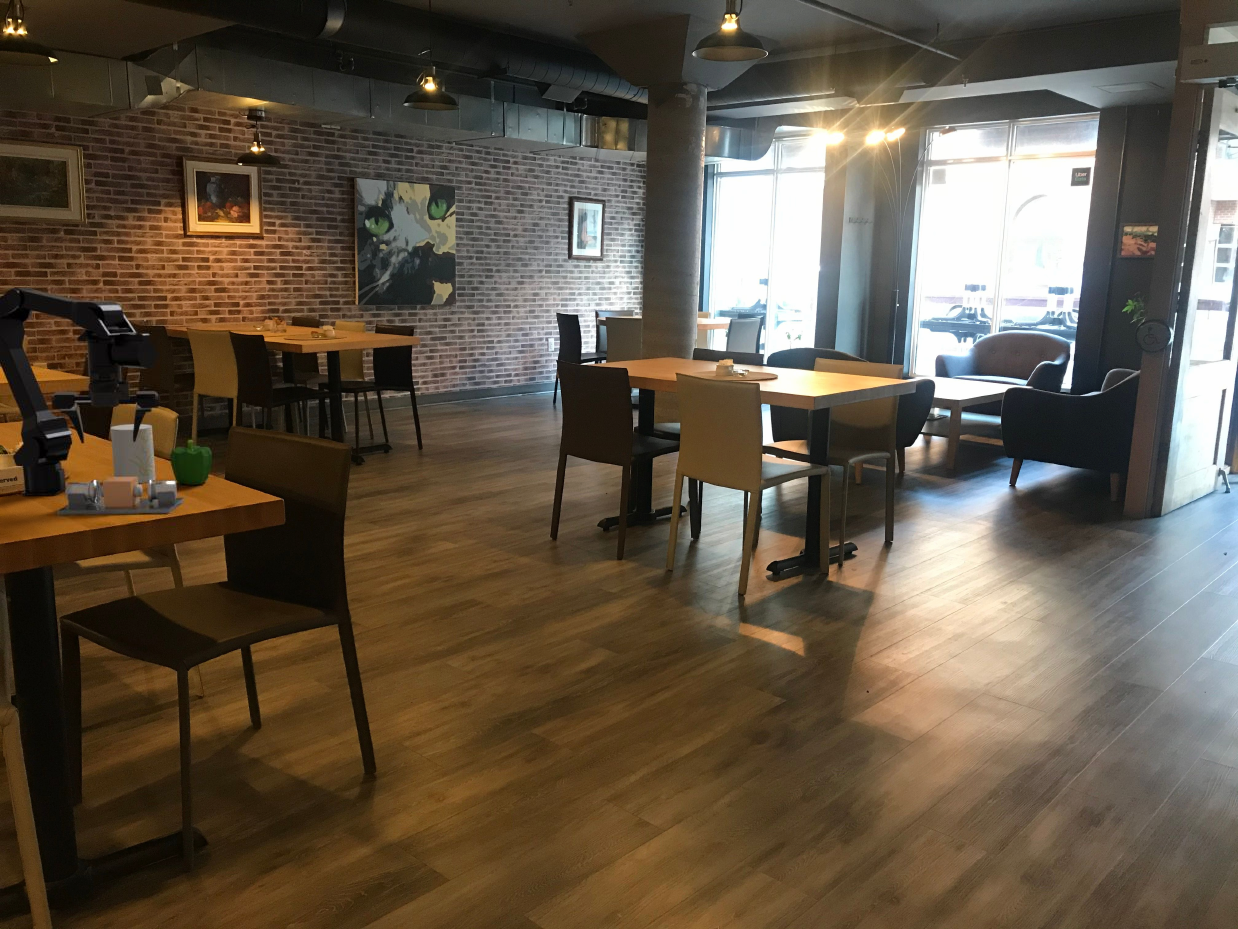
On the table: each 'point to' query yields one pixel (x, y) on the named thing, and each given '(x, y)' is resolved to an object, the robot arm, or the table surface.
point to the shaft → (162, 492)
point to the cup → (133, 452)
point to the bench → (88, 502)
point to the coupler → (121, 491)
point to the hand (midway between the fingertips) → (108, 442)
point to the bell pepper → (191, 464)
